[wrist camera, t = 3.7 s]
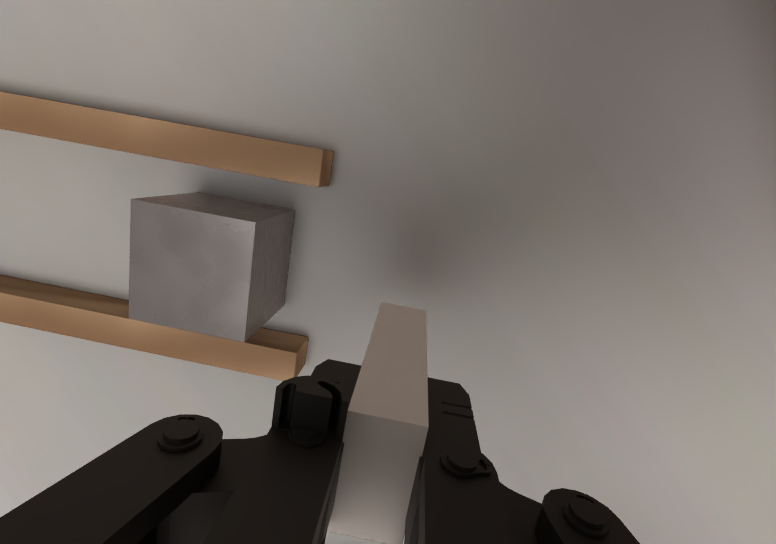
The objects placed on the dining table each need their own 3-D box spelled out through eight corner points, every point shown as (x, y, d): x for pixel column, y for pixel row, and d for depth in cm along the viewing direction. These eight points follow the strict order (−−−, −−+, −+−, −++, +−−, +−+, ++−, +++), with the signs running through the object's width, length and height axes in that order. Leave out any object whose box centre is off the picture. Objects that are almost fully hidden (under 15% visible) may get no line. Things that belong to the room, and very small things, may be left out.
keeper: (199, 192, 21) (131, 198, 16) (295, 210, 21) (255, 222, 16) (193, 286, 22) (128, 318, 18) (284, 304, 22) (244, 342, 17)
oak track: (-189, 57, 21) (-370, 25, 16) (333, 151, 20) (302, 146, 15) (-156, 269, 24) (-302, 295, 19) (304, 364, 23) (270, 417, 18)
